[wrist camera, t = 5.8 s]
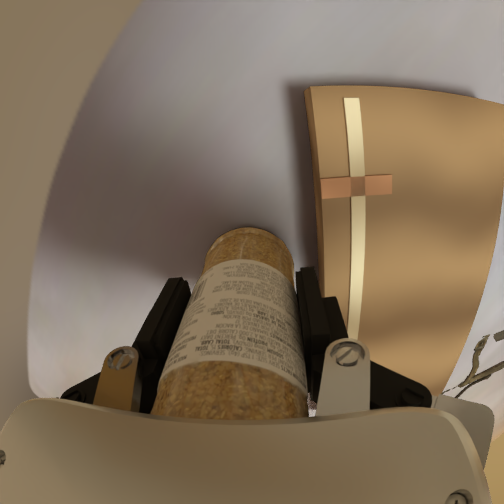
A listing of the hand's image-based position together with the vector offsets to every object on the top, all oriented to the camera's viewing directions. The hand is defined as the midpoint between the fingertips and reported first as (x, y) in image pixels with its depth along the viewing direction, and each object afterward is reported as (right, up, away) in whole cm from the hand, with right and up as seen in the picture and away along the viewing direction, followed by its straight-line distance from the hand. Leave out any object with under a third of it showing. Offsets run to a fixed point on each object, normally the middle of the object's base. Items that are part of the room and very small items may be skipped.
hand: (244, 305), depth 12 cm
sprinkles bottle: (0, +2, +3) cm, 4 cm away
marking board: (+9, 0, +3) cm, 10 cm away
